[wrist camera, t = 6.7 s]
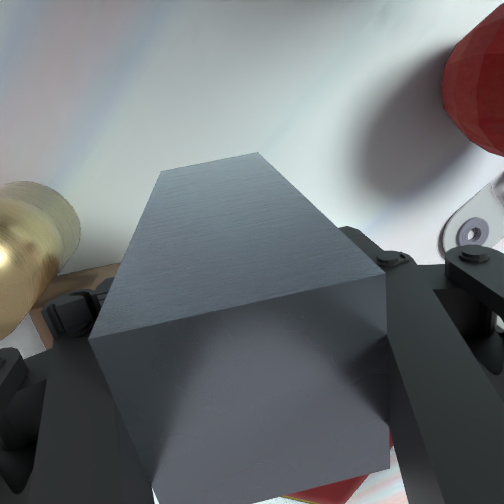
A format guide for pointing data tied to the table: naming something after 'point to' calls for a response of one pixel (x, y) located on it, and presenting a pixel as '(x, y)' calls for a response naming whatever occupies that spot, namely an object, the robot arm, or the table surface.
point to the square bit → (245, 340)
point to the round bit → (31, 246)
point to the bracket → (476, 221)
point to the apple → (478, 84)
